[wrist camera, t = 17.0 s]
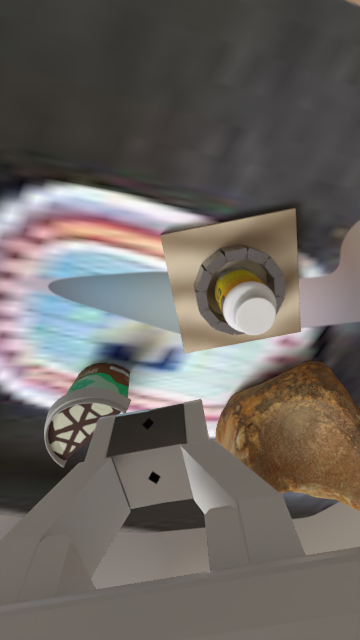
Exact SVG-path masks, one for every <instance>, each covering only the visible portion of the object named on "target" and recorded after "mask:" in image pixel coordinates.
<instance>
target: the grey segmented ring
mask: <svg viewBox="0 0 360 640" xmlns="http://www.w3.org/2000/svg"><path fill="white" fill-rule="evenodd" d="M220 250H221V252H220V251H219V249H218V250H217V251H215V252H214V253H213V254H212V255H211V256H210V257H208V258H207V259H206V260H205V261H204V262H202V263H203V265H204V266H203V265H200V268H199V271H198V273H197V276H196V279H195V282H194V291H195V296H196V302H197V306H198V310H199V312H200V315H201V316H202V317H203V318H204V319H205V320H206V321H207V322H208V323H209V324H210V326H211V327H212V328H214V329H215V330H218V331H221V332H225V333H228V334H231V335H234V333H235V335H240V334H246V333H244V332H240V331H237V330H235V329H233V328H232V327H231V326H230V325H229V324H228V323H227V321H226V320H225V318H224V316H223V315H222V314H219V313H216V312H215V311H214V310H213V309H212V307H211V306H210V305H209V304H208V301H207V295H206V291H207V288H208V286H209V283H210V281H211V278H212V276H213V274H214V273H216V272H217V271H218V270H219V269H220V268H222V267H223V266H224V265H225V264H226V263H228V262H233V261H238V260H243V259H248V260H251V261H254V262H257V263H259V264H260V265H261V267H262V268H263V269H264V271H265V272H266V277H267V287H268V288H270V290H271V291H272V292H273V294H274V296H275V298H276V304H277V307H276V315H277V313H278V311H279V309H280V307H281V305H282V303H283V301H284V299H285V297H283V296H285V280H284V275H283V272H282V271H281V269H280V268H279V266H278V265H277V264H276V262H275V261H274V260H273V258H272V257H271V256H269V255H268V254H266V253H264V252H263V251H260V250H258V249H255V248H252V247H249V246H247V245H244V244H243V245H241V244H239V245H233V246H228V247H223V248H220Z"/></svg>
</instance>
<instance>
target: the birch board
mask: <svg viewBox="0 0 360 640" xmlns="http://www.w3.org/2000/svg"><path fill="white" fill-rule="evenodd" d="M161 240H162V245H163V250H164V255H165V260H166V265H167V269H168V274H169V279H170V284H171V289H172V293H173V298H174V303H175V308H176V313H177V318H178V322H179V327H180V332H181V337H182V342H183V346H184V351H185V353H190V352H195V351H201V350H206V349H211V348H217V347H222V346H227V345H233V344H238V343H243V342H249V341H254V340H259V339H265V338H270V337H275V336H281V335H286V334H291V333H297V332H301V326H300V302H299V278H298V254H297V231H296V208H290V209H285V210H280V211H275V212H270V213H265V214H260V215H255V216H250V217H245V218H240V219H235V220H230V221H225V222H220V223H215V224H210V225H205V226H200V227H195V228H190V229H185V230H180V231H175V232H170V233H165V234H161ZM239 244H241V245H243V244H244V245H247V246H249V247H252V248H255V249H258V250H260V251H263V252H264V253H266V254H268V255H269V256H271V257H272V258H273V260H274V261H275V262H276V264H277V265H278V266H279V268H280V269H281V271H282V272H283V275H284V280H285V296H283V297H285V299H284V301H283V303H282V305H281V307H280V309H279V311H278V313H277V315H276V319H275V322H274V324H273V325H272V327H271V328H270V329H269V330H268V331H266V332H265V333H262V334H259V335H248V334H240V335H235V333H234V335H231V334H228V333H225V332H221V331H218V330H215V329H214V328H212V327H211V326H210V324H209V323H208V322H207V321H206V320H205V319H204V318H203V317H202V316H201V315H200V312H199V310H198V306H197V302H196V296H195V291H194V282H195V279H196V276H197V273H198V271H199V268H200V265H203V263H202V262H204V261H205V260H206V259H207V258H208V257H210V256H211V255H212V254H213V253H214V252H215V251H217V250H218V249H219V251H220V252H221V250H220V248H223V247H228V246H233V245H239ZM203 266H204V265H203ZM236 266H239V267H244V268H246V269H248V270H250V271H251V272H252V273H253V274H254V275H256V276H257V277H258V278H259V279H260V280H261V281H262V282H263V283H264V284H265V285H266V286H267V277H266V272H265V271H264V269H263V268H262V267H261V265H260V264H259V263H257V262H254V261H251V260H248V259H243V260H238V261H233V262H228V263H226V264H225V265H224V266H223V267H222V268H220V269H219V270H218V271H217V272H216V273H214V274H213V276H212V278H211V281H210V283H209V286H208V288H207V291H206V295H207V301H208V304H209V305H210V306H211V307H212V309H213V310H214V311H215V312H216V313H219V314H222V311H221V309H220V307H219V305H218V302H217V300H216V298H215V295H214V284H215V281H216V279H217V277H218V276H219V275H220V273H222V272H223V271H224V270H226V269H228V268H230V267H236ZM222 315H223V314H222Z"/></svg>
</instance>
